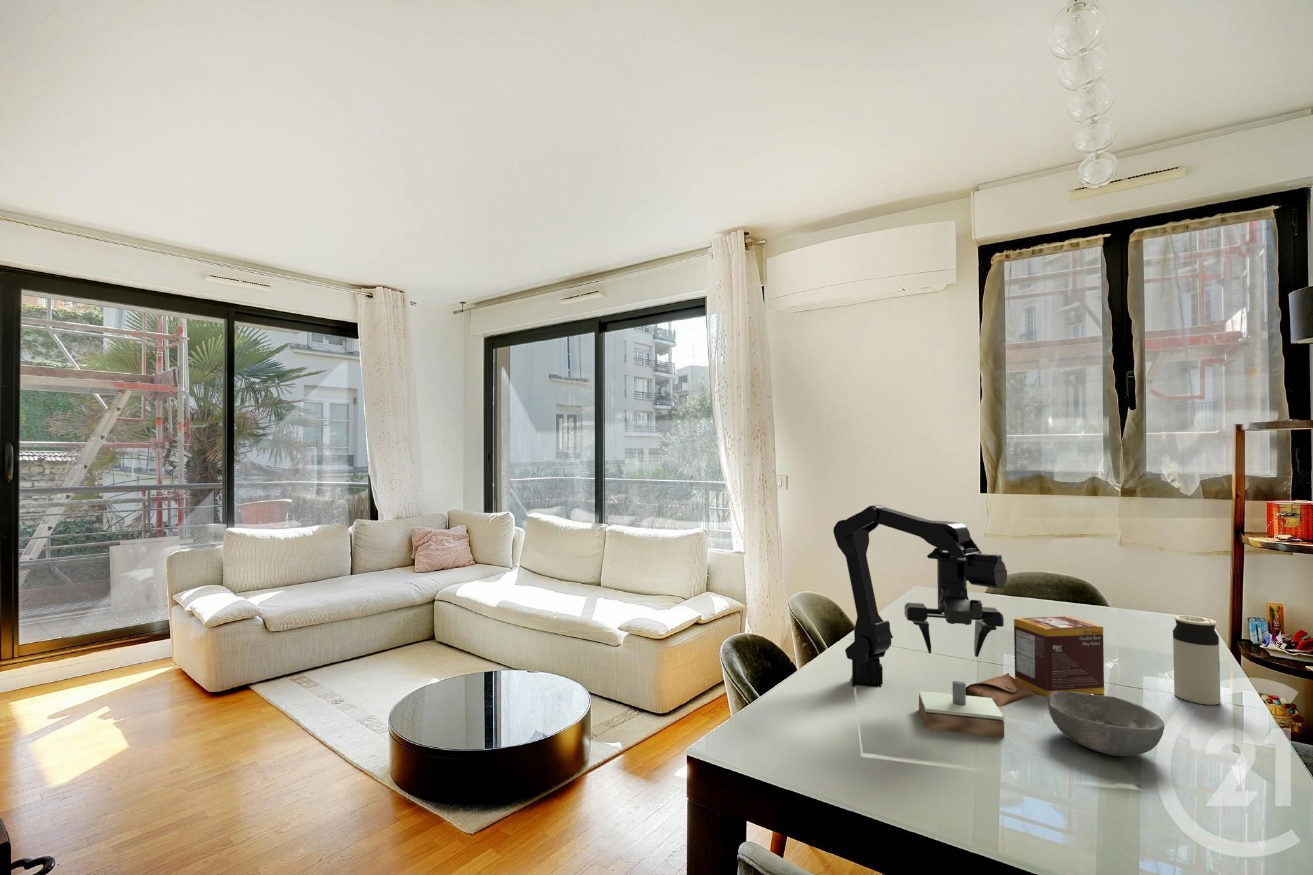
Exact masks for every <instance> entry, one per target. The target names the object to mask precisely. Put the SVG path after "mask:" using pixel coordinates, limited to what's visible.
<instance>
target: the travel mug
mask: <svg viewBox="0 0 1313 875" xmlns="http://www.w3.org/2000/svg"><path fill="white" fill-rule="evenodd" d="M1173 619H1174V620H1175V627H1174V628H1173V630H1172V651H1173V653H1172V654H1173V656H1172V657H1173V689H1174V690H1173V691H1174V695H1175V696H1176V697H1177V698H1179V699H1181V700H1183V699H1184V700H1183V701H1186V700H1187V701H1186V702H1189V701H1190V702H1189V703H1193V702H1195V703H1194V704H1197V703H1198V705H1203V704H1205V705H1207V706H1210V705H1211V706H1215V705H1219V704H1221V703H1222V702H1221V701H1222V700H1221V673H1220V672H1221V671H1220V668H1221V667H1220V666H1221V665H1220V636H1219V635H1218V633H1217V632H1216V631H1215V629H1216V625H1217V624H1218V622H1217V621H1216V620H1215V619H1210V618H1207V617H1202V616H1196V615H1185V614H1183V615H1180V614H1179V615H1174V616H1173ZM1205 705H1204V706H1205Z"/></svg>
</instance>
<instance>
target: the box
mask: <svg viewBox="0 0 1313 875" xmlns="http://www.w3.org/2000/svg"><path fill="white" fill-rule="evenodd" d="M918 711H919V714H920V716H921V720H922V721H923V724H924V727H925V728H924V729H925V730H934V731H941V732H951V733H959V734H960V733H961V734H970V735H977V736H986V737H996V738H1005V721H1004V720H1001V719H991V718H981V717H972V716H962V715H952V714H943V713H933V712H926V711H925V709H924V706H923V703H922V701H921V698H920V696H919V695H918Z"/></svg>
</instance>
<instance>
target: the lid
mask: <svg viewBox="0 0 1313 875" xmlns="http://www.w3.org/2000/svg"><path fill="white" fill-rule="evenodd" d="M951 684H952V686H951V687H952V693H945V692H943V693H942V692H934V691H933V692H931V691H922V690H919V691H918V697H919V696H920V698H921V701H922V703H923V706H924V709H925V711H926V712H933V713H943V714H952V715H962V716H972V717H981V718H991V719H1001V720H1003V721H1004V720H1005V716H1004V714H1003V713H1002V712H1001V710H1000V709H999V707H997V706H996V704H995V703H994V701H993V700H992V698H987V697H976V696H966V687H967V685H966V683H965V682H964V681H959V680H955V681H952V683H951Z"/></svg>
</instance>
